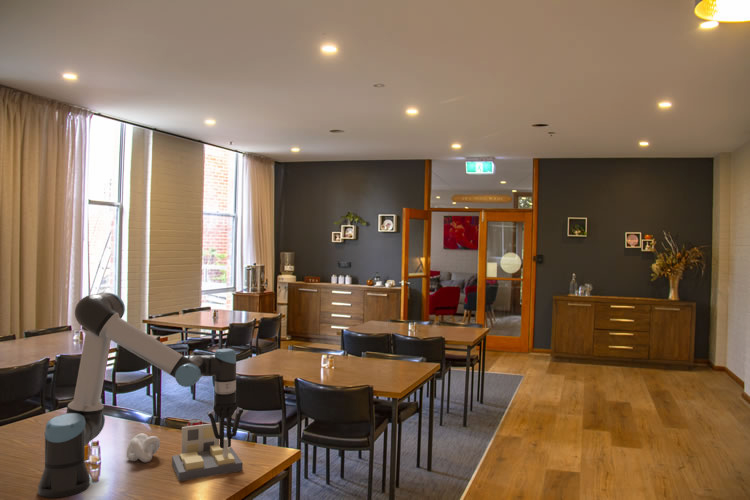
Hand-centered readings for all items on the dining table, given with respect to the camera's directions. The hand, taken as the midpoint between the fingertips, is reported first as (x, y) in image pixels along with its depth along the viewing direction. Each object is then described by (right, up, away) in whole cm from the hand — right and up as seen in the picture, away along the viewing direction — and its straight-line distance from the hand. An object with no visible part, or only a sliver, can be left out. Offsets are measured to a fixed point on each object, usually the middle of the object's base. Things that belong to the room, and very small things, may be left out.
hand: (225, 456), depth 207 cm
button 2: (-10, -2, -5) cm, 12 cm away
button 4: (0, -3, 0) cm, 3 cm away
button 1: (-14, -4, +3) cm, 15 cm away
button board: (-8, -5, +3) cm, 10 cm away
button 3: (-4, -3, +8) cm, 9 cm away
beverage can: (-17, -5, +19) cm, 26 cm away
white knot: (-35, -5, +9) cm, 36 cm away
